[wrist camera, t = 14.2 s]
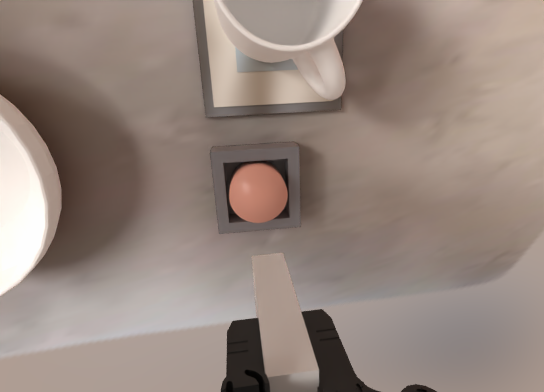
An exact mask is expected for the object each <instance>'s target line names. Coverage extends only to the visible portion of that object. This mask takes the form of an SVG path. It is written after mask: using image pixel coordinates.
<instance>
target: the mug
mask: <svg viewBox="0 0 544 392" xmlns="http://www.w3.org/2000/svg"><path fill="white" fill-rule="evenodd" d="M362 1H363V0H214V3H215V7H216V10H217V14H218V18H219V21H220V23H221V26H222V28H223V30H224V32H225V34H226V36H227V37H228V39H229V40H230V41H231V42H232V44H233V45H234V46H235V47H236V48H237V49H238V50H239V51H241V52H242V53H243V54H245V55H246V56H248V57H250V58H252V59H255V60H257V61H262V62H269V63H274V62H281V61H286V60H289V59H293V61H294V63H295V65H296V66H297V68H298V69H299V71H300V73H301V74H302V76H303V77H304V78H305V80H306V81H307V82H308V84H309V85H310V86H311V87H312V89H313V90H314V91H315V92H316V93H317V94H319V95H320V96H321V97H323V98H325V99H327V100H334V99H337V98H339V97H340V96H341V95H342V93H343V91H344V89H345V84H346V79H345V71H344V67H343V63H342V60H341V57H340V54H339V51H338V49H337V46H336V44H335V41H334V39H333V37H335V36H336V35H337V34H338V33H340V32H341V31H342V30H343V29H344V28H345V27H346V26H347V24H348V23H349V22H350V21H351V20H352V18H353V17H354V15H355V14H356V12H357V11H358V9H359V8H360V6H361V3H362Z"/></svg>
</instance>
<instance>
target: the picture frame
mask: <svg viewBox="0 0 544 392" xmlns="http://www.w3.org/2000/svg"><path fill="white" fill-rule="evenodd" d="M193 8H194V17H195V26H196V35H197V43H198V52H199V61H200V70H201V79H202V88H203V97H204V106H205V115H206V117H220V116H238V115H256V114H274V113H292V112H309V111H327V110H341V96H340V97H339V98H337V99H334V100H327V99H325V98H323V97H321V96H320V95H319V94H317V93H316V92H315V91H314V90H313V89H312V87H311V86H310V85H309V84H308V82H307V81H306V80H305V78H304V77H303V76H302V74H301V73H300V71H299V69H298V68H297V66H296V65H295V63H294V61H293V59H289V60H286V61H281V62H274V63H269V62H262V61H257V60H255V59H252V58H250V57H248V56H246V55H245V54H243V53H242V52H241V51H239V50H238V49H237V48H236V47H235V46H234V45H233V44H232V42H231V41H230V40H229V39H228V37H227V36H226V34H225V32H224V30H223V28H222V26H221V23H220V21H219V18H218V14H217V10H216V7H215V3H214V0H193ZM333 39H334V41H335V44H336V46H337V49H338V51H339V54H340V57H341V60H342V52H343V30H342V31H341V32H340V33H338V34H337V35H336V36H335V37H333Z"/></svg>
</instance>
